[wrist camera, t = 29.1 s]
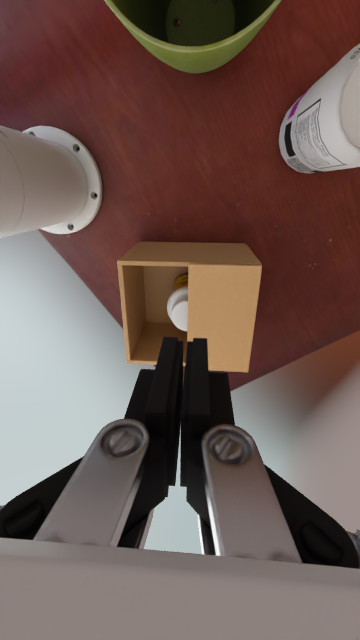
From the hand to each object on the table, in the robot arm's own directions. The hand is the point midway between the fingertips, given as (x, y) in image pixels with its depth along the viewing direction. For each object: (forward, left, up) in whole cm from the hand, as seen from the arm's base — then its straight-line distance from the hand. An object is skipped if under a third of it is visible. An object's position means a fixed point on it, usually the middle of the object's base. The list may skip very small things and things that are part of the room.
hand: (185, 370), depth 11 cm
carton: (+1, -7, -31) cm, 32 cm away
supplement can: (+10, +15, -31) cm, 36 cm away
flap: (+5, -6, -19) cm, 21 cm away
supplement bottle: (+1, -7, -31) cm, 32 cm away
